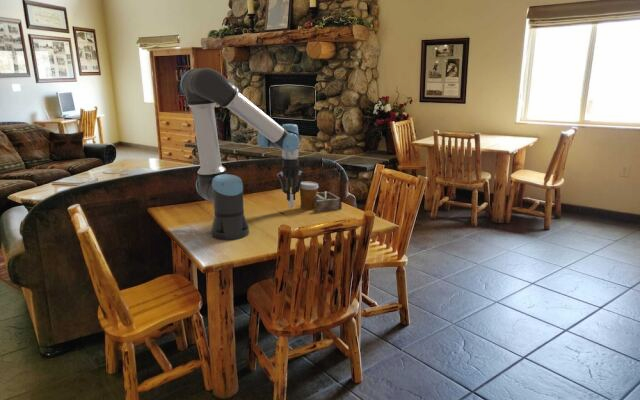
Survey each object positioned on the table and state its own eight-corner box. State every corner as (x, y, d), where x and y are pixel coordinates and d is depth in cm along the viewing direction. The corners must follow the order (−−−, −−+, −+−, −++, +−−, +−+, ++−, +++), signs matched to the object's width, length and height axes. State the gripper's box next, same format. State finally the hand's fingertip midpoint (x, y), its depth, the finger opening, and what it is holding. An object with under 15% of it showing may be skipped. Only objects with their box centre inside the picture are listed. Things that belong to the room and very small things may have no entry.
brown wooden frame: (317, 211, 212) (317, 201, 211) (305, 203, 226) (305, 193, 224) (341, 209, 217) (341, 198, 215) (328, 201, 230) (328, 191, 229)
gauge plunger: (322, 210, 215) (322, 191, 213) (314, 204, 225) (314, 186, 222) (334, 208, 217) (334, 190, 215) (325, 203, 227) (325, 185, 224)
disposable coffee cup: (320, 207, 220) (322, 183, 217) (310, 211, 212) (311, 186, 209) (304, 203, 225) (306, 180, 222) (293, 207, 217) (295, 183, 214)
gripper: (279, 160, 203) (280, 210, 209) (306, 158, 207) (306, 207, 214) (274, 157, 209) (275, 206, 216) (300, 155, 214) (301, 203, 220)
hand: (291, 206), depth 215 cm, fingers closed
